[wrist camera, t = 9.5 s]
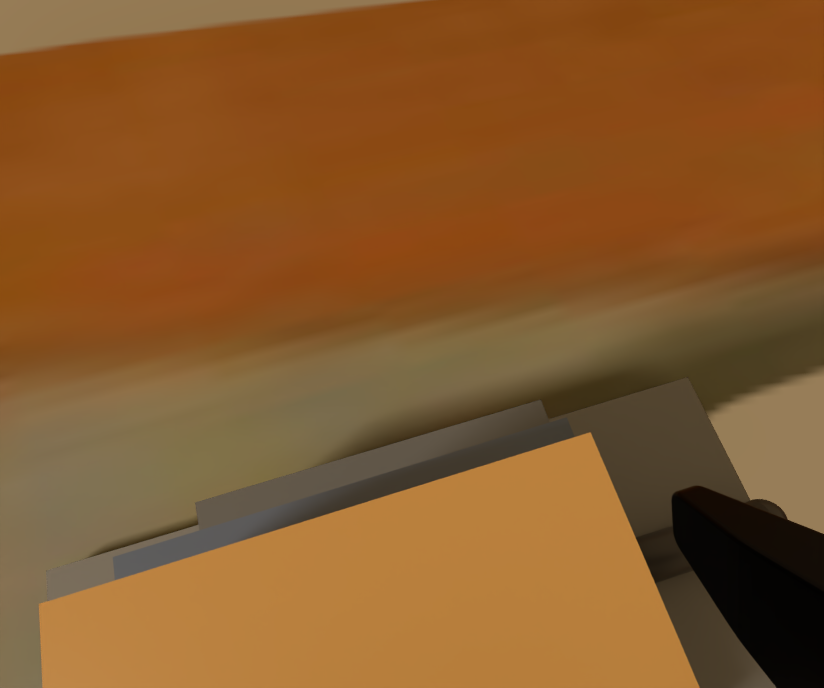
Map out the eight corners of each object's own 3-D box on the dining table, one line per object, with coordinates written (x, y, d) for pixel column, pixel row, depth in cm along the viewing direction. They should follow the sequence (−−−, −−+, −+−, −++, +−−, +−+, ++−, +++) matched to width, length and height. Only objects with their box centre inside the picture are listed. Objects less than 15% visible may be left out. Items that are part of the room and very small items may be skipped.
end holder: (833, 684, 15) (962, 721, 12) (89, 949, 14) (-37, 1089, 10) (683, 384, 19) (746, 337, 15) (67, 570, 17) (-34, 570, 13)
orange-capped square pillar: (545, 703, 15) (1095, 1342, 3) (359, 769, 14) (-38, 1902, 2) (482, 511, 16) (624, 351, 4) (315, 564, 16) (-37, 550, 4)
